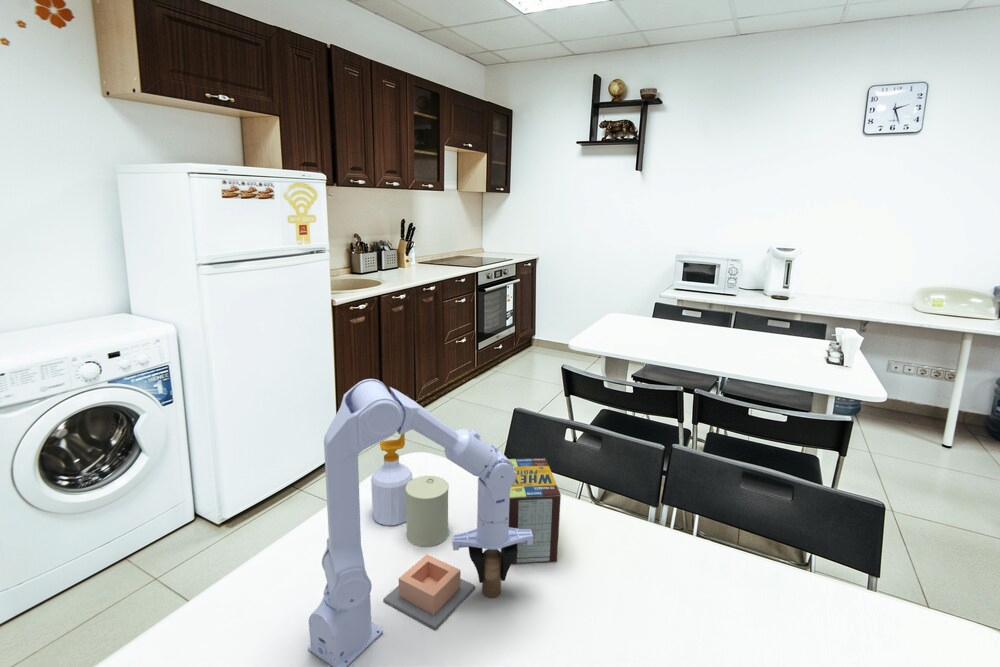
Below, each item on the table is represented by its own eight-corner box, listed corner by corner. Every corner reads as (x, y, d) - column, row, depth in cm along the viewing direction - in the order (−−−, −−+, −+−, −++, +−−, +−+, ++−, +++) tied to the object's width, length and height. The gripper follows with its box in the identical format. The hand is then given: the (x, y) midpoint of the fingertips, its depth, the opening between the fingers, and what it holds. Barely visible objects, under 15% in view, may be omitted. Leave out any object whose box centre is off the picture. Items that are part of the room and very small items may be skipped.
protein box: (543, 517, 124) (546, 456, 119) (557, 562, 109) (561, 494, 105) (497, 519, 122) (499, 458, 118) (506, 565, 108) (508, 497, 103)
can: (452, 522, 121) (452, 474, 118) (444, 548, 112) (444, 498, 109) (412, 519, 122) (411, 471, 119) (401, 545, 113) (399, 494, 110)
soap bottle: (371, 506, 126) (367, 409, 120) (410, 501, 129) (408, 406, 122) (374, 529, 118) (370, 426, 111) (415, 522, 120) (413, 422, 114)
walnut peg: (494, 600, 98) (495, 563, 96) (478, 593, 100) (479, 556, 98) (504, 589, 101) (505, 552, 99) (488, 582, 103) (489, 546, 101)
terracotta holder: (435, 630, 91) (435, 608, 90) (383, 601, 97) (382, 580, 96) (475, 588, 101) (475, 567, 100) (425, 564, 107) (425, 544, 106)
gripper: (528, 499, 101) (525, 560, 105) (451, 503, 99) (451, 566, 103) (536, 521, 94) (533, 586, 98) (453, 527, 92) (453, 593, 96)
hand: (491, 578), depth 100 cm, fingers closed on walnut peg, 3 cm apart
